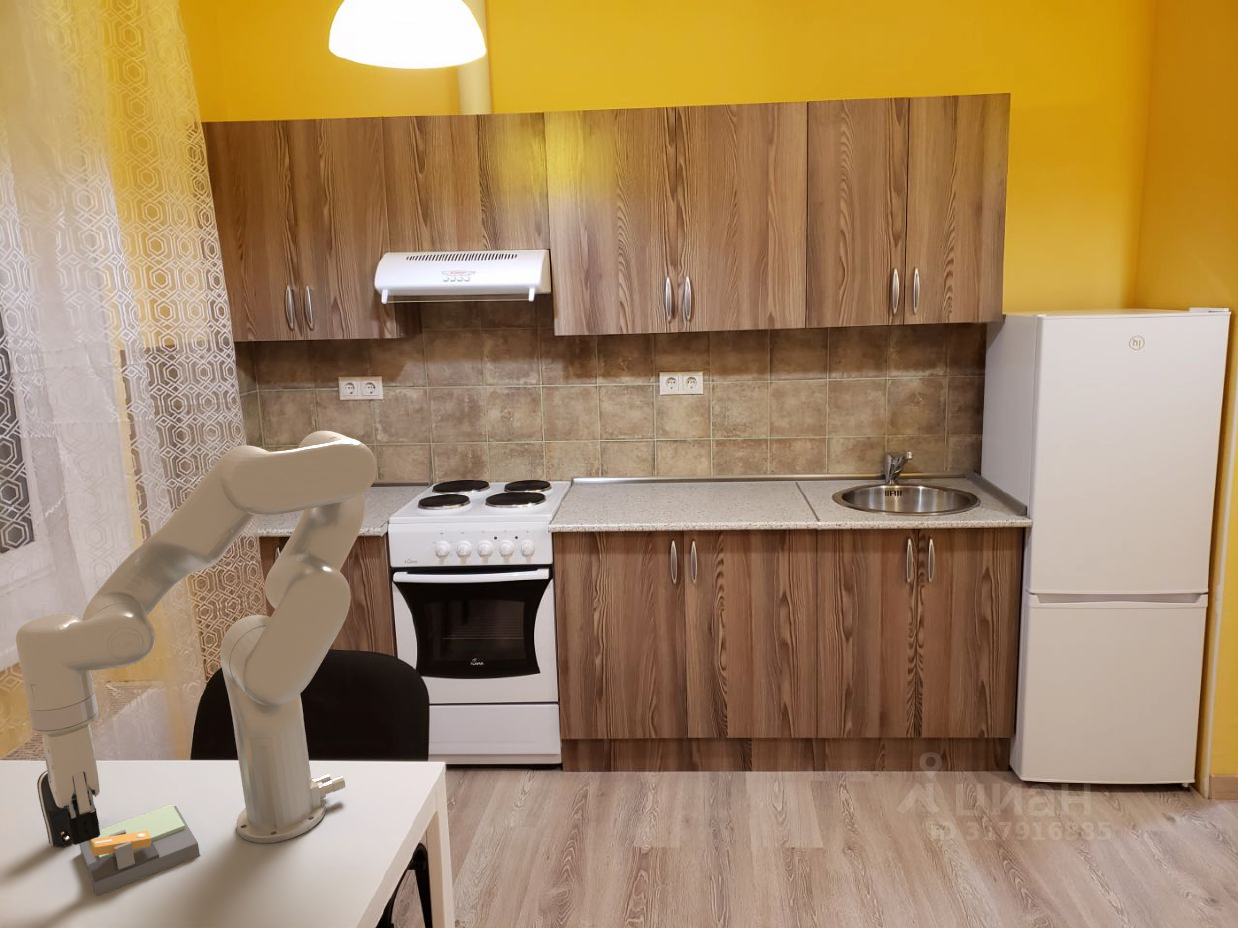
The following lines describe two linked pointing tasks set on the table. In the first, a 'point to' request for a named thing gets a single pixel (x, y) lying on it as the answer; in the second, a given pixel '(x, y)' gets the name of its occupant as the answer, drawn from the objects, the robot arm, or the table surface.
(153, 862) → the grey holder stand
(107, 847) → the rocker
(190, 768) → the table surface
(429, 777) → the table surface
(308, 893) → the table surface
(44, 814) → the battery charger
